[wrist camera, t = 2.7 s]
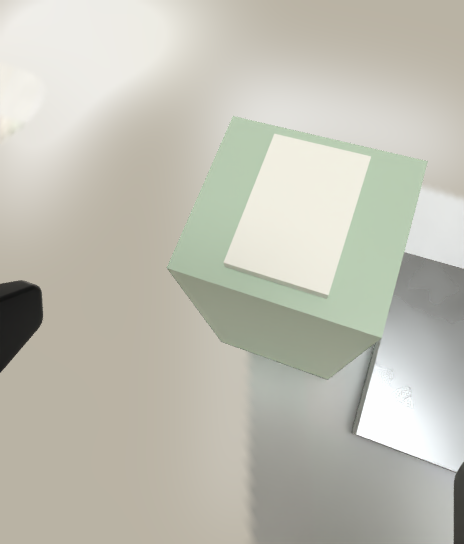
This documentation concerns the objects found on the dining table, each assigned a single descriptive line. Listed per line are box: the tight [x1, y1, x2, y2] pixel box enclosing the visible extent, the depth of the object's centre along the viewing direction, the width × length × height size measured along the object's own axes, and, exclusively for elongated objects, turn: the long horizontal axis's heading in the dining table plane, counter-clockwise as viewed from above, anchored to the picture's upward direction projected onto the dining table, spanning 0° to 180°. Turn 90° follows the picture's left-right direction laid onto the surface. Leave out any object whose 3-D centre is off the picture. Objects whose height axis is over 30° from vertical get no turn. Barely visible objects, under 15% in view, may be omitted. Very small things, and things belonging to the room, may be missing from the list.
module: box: [167, 116, 428, 380], centre depth 14 cm, size 5×4×10 cm
